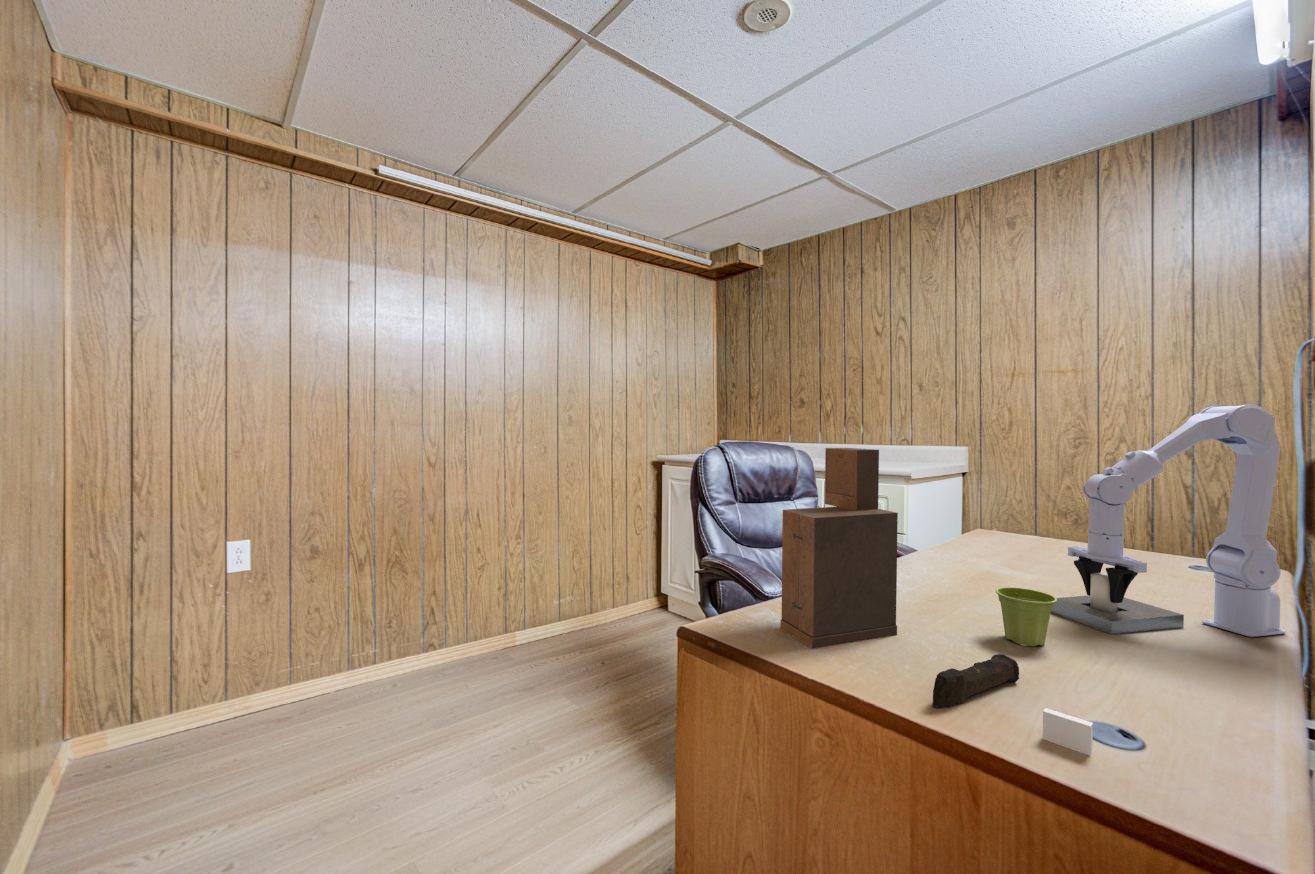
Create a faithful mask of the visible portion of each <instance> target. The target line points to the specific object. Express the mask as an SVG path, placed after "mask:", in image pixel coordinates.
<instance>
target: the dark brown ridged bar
mask: <svg viewBox="0 0 1315 874" xmlns="http://www.w3.org/2000/svg"><path fill="white" fill-rule="evenodd" d="M1018 665H1019V663H1017V661H1016V659H1014V658H1012V657H1010V656H1007V655H1006V654H1001V653H998V654H993V655H992V656H991V658H990V659H987V660H983V661H980V662H979V661H978V662H975V663H973V665H972V666H970V667H967V668H965V669H961V670H959V669H956V668H949V669H946V670H942V671H940V672H938V673H937V675H936V677H935V678H934V680H935V681H934V685H933V690H932V708H933V707H934V708H941V709H942V708H950V707H953V706H956V705H962V704H964V703H965V700H966V698H968V697H970V696H972V695H975V694H979V693H982V692H984V691H985V690H987V689H990V688H994V687H996V686H998V685H1001V684H1004V683H1006V682H1007V681H1008V682H1011V683H1013V684H1015V683H1016V682H1017V681H1018V680H1020V667H1019V666H1018Z"/></svg>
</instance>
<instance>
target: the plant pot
mask: <svg viewBox="0 0 1315 874" xmlns="http://www.w3.org/2000/svg"><path fill="white" fill-rule="evenodd" d="M995 593H996V594H997V597H998V601H999V602H1000V607H1001V615H1002V622H1003V628H1004V636H1005V638H1006V639H1007V640H1011V641H1012V642H1013V643H1016V644H1018V645H1023V646H1028V647H1036V646H1044V645H1045V644H1046V637H1047V632H1048V628H1049V624H1050V623H1049V622H1050V617H1051V614H1052V613H1051V610H1052V609H1053V606H1054V603H1056V602H1057V598H1058V597H1056V596H1054V595H1052V594H1050V593H1046V592H1043V591H1040V590H1035V589H1032V588H1031V589H1030V588H1024V587H1017V586H1016V587H1011V586H1008V587H1006V586H1003V587H998V588H996V589H995Z"/></svg>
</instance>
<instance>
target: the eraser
mask: <svg viewBox="0 0 1315 874" xmlns="http://www.w3.org/2000/svg"><path fill="white" fill-rule="evenodd" d="M1042 712H1043V713H1042V740H1044V741H1046V742H1050V743H1053V744H1056V745H1059V746H1060V747H1064V748H1066V749H1070V750H1073V751H1076V752H1079V753H1081V754H1083V755H1087V756H1091V755H1092V753H1093V741H1094V740H1093V739H1094V737H1093V733H1094V732H1093V729H1094V722H1091V721H1088V720H1085V719H1081V718H1079V717H1075V716H1073V715H1069V714H1066V713H1063V712H1060V711H1056V710H1053V709H1051V708H1046V707H1045V708H1044V709H1043V710H1042Z"/></svg>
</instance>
